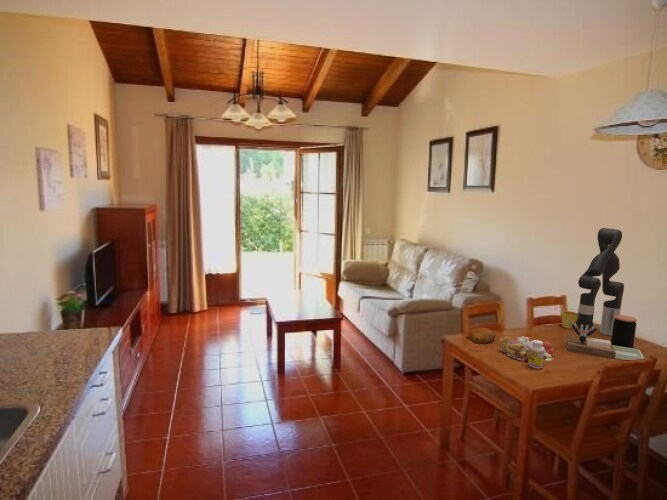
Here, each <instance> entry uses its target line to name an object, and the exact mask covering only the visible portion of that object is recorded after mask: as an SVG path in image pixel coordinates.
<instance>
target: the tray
mask: <svg viewBox="0 0 667 500" xmlns="http://www.w3.org/2000/svg"><path fill="white" fill-rule="evenodd" d="M612 346H613V348H614V350H615V352H616V354H615V360H621V361H625V360H636V359H644V360H645V357H644V355H643V354H642V352H641V351H640V349H638V348H634V347H633V348H627V347H620V346H614V345H612Z"/></svg>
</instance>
